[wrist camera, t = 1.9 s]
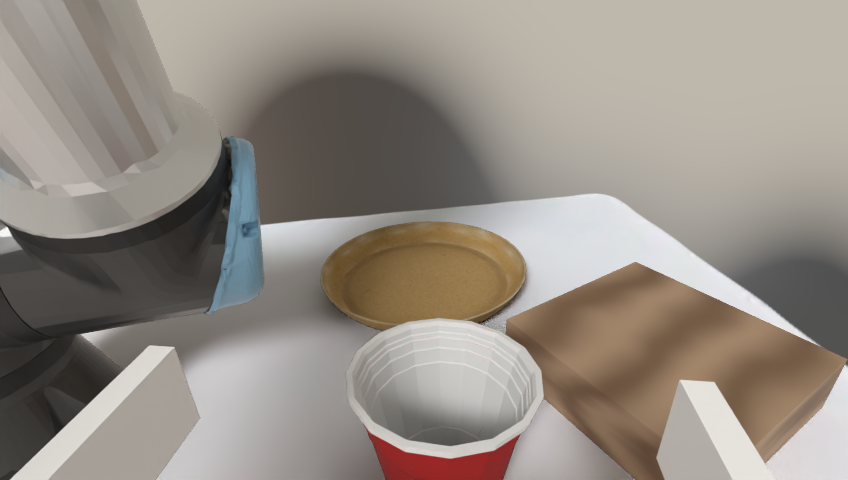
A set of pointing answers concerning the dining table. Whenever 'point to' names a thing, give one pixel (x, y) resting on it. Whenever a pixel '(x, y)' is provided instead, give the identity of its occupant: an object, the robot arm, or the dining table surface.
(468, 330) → the plastic cup
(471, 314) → the plant saucer
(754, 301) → the dining table surface
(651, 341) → the walnut podium
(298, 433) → the dining table surface
